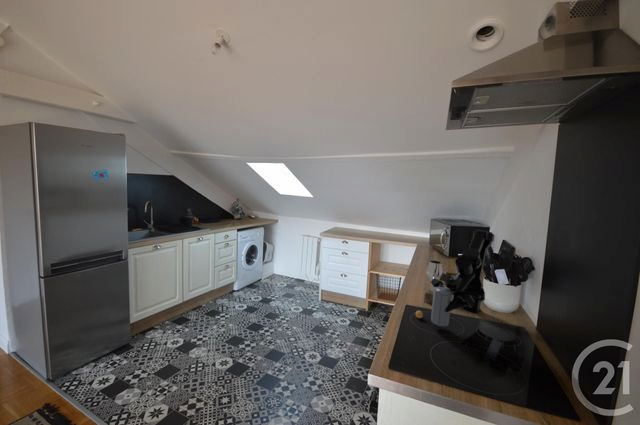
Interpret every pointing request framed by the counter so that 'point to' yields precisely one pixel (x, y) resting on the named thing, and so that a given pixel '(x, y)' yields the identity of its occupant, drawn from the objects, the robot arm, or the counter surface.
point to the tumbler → (441, 306)
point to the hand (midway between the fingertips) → (438, 307)
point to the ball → (419, 314)
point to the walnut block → (428, 296)
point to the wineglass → (434, 270)
